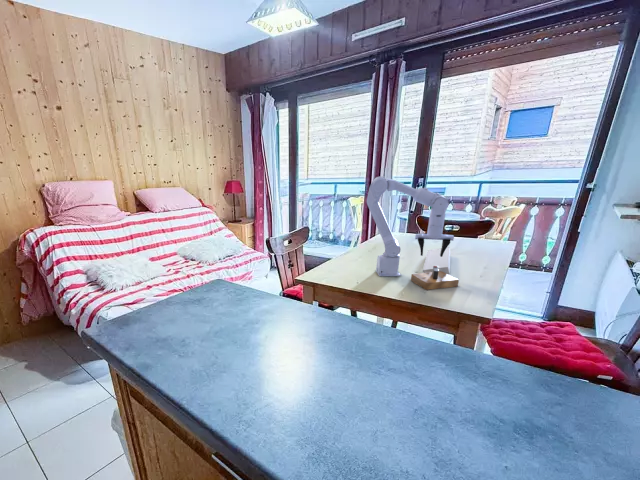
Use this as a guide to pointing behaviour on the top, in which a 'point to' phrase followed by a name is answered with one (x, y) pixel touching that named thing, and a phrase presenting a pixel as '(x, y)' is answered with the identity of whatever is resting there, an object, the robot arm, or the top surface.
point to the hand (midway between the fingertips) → (431, 255)
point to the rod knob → (435, 272)
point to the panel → (434, 280)
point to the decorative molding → (437, 261)
